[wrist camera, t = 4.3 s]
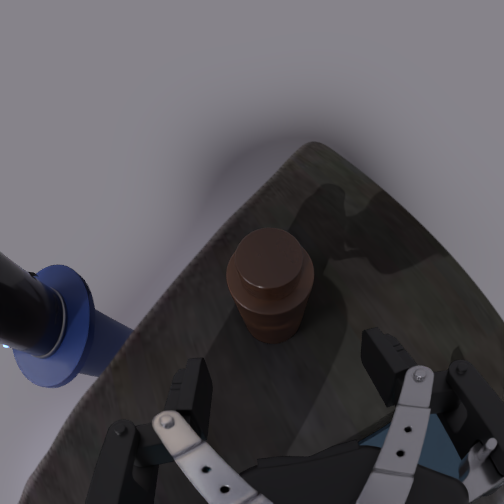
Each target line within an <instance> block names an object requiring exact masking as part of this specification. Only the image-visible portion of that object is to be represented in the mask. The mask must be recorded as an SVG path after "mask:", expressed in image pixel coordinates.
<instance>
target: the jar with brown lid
mask: <svg viewBox="0 0 504 504" xmlns="http://www.w3.org/2000/svg"><path fill="white" fill-rule="evenodd" d="M226 278H227V285H228V288H229V291H230V293H231V295H232V297H233V299H234V301H235V303H236V306H237V308H238V310H239V312H240V314H241V316H242V318H243V320H244V322H245V324H246V327H247V329H248V331H249V332H250V333H251V334H252V336H253V337H255V338H256V339H258V340H259V341H261V342H264V343H269V344H277V343H281V342H284V341H286V340H288V339H289V338H291V337H292V336H293V335H294V334H295V333H296V332H297V330H298V328H299V326H300V323H301V320H302V317H303V314H304V311H305V308H306V305H307V302H308V299H309V296H310V293H311V289H312V286H313V282H314V267H313V263H312V260H311V258H310V256H309V255H308V253H307V252H306V250H305V249H304V248H303V247H302V246H301V245H300V244H299V242H298V241H297V239H296V238H295V237H294V236H292V235H291V234H290V233H288V232H286V231H284V230H281V229H278V228H262V229H258V230H255V231H253V232H251V233H250V234H248V235H247V236H246V237H245V238H244V239H243V240H242V241H241V242H240V244H239V245H238V247H237V250H236V251H235V252H234V254H233V255H232V257H231V259H230V261H229V263H228V267H227V273H226Z"/></svg>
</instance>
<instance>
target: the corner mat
mask: <svg viewBox="0 0 504 504" xmlns="http://www.w3.org/2000/svg"><path fill="white" fill-rule="evenodd" d="M390 425H391V422H390V423H389V424H387V425H386V426H384V427H383V428H381V429H380V430H378V431H376V432H375V433H373V434H371V435H370V436H368V437H366V438H365V439H363V440H361V441H359V442H358V445H370V446H376V447H380V448H382V446H383V443H384V441H385V438H386V436H387V433H388V430H389V427H390ZM460 462H461V459H460V457H459V455H458V453H457V451H456V449H455V447H454V445H453V443H452V441H451V440H450V438H449V436H448V434H447V432H446V431H445V429H444V427H443V425H442V423H441V422H440V420H439V418H438V416H437V415H436V414H430V416H429V421H428V426H427V430H426V434H425V439H424V442H423V446H422V450H421V454H420V457H419V460H418V464H420V465H422V466H424V467H427V468H430V469H432V470H435V471H437V472H440V473H443V474H446V475H449V476H451V477H454V478H457V479H458V480H459V473H458V467H459V464H460Z"/></svg>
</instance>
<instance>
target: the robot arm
mask: <svg viewBox="0 0 504 504" xmlns="http://www.w3.org/2000/svg"><path fill="white" fill-rule="evenodd" d="M34 276H37V277H39V276H38V275H36V274H35V273H33V272H27V271H25V270H24V269H22V268H21V267H20V266H18V265H17V264H16V263H14V262H13V261H11V260H10V259H9V258H8V257H6V256H5V255H4V254H2V253H1V252H0V344H3V346H4V347H10V348H13V349H16V350H19V351H22V352H24V353H27V354H30V355H32V356H34V357H37V358H41V359H44V358H48V357H50V356H52V355H53V354H54V353H55V352H56V351H57V350H58V348H59V347H60V345H61V343H62V341H63V339H64V336H65V333H66V328H67V319H68V315H67V307H66V303H65V301H64V299H63V297H62V295H61V294H60V293H59V292H58V291H56V290H55V289H53V288H51V287H49V286H47V285H46V284H44V283H43V282H41V281H40V280H38V279H37V278H35V277H34ZM361 360H362V363H363V366H364V367H365V369H366V371H367V373H368V374H369V376H370V378H371V380H372V381H373V383H374V385H375V387H376V388H377V390H378V392H379V394H380V396H381V397H382V399H383V401H384V403H385V405H386V407H390V406H393V405H395V407H396V409H395V413H394V416H393V419H392V422H391V425H390V427H389V430H388V433H387V436H386V438H385V441H384V443H383V446H382V448H380V447H376V446H370V445H358V442H357V440H353V441H350V442H346V443H343V444H339V445H335V446H332V447H330V448H328V449H325V450H323V451H321V452H319V453H316V454H314V455H312V456H308V457H298V456H278V457H271V458H262V459H257V462H258V465H257V466H254V467H251V468H249V469H247V470H245V471H243V472H241V473H240V474H237V473H236V472H235V471H234V470H233V469H232V468H231V467H230V466H229V465H228V464H227V463H226V462H225V461H224V460H223V459H222V458H221V457H220V456H219V455H218V454H217V453H216V452H215V450H214V449H213V448H212V447H211V446H210V445H209V444H208V443H207V442H206V441H205V440H207V435H208V426H209V417H210V408H211V400H212V391H213V387H212V381H211V377H210V374H209V371H208V368H207V365H206V362H205V360H204V358H192V359H188V361H187V365H186V369H179V371H178V372H177V373H176V374H175V375H174V377H173V381H172V385H171V387H170V391H169V394H168V398H167V401H166V404H165V408H164V411H163V412H161V413H159V414H158V415H156V416H155V418H154V419H153V421H152V422H151V423H148V424H143V425H138V426H135V425H134V424H133V422H131V421H129V420H119V421H116V422H114V423H113V424H112V425H111V426H110V427H109V429H108V432H107V435H106V438H105V440H104V443H103V446H102V449H101V452H100V455H99V458H98V461H97V464H96V468H95V471H94V474H93V477H92V480H91V484H90V487H89V491H88V494H87V498H86V501H85V504H154V496H155V489H156V482H157V475H158V468H159V464H163V463H168V462H173V461H175V462H176V463H177V464H178V466H179V467H180V468H181V470H182V471H183V472H184V474H185V475H186V476H187V478H188V479H189V480H190V481H191V483H192V484H193V485H194V486H195V488H196V489H197V490H198V491H199V492H200V494H201V495H202V496H203V497H204V498H205V499H206V501H207V502H208V503H209V504H471V503H472V502H474V501H475V500H477V499H478V498H480V497H481V496H489V495H491V494H493V493H494V492H495V491H496V490H497V489H499V488H500V487H501V486H502V485H503V484H504V403H503V402H502V400H501V399H500V398H499V397H498V395H497V394H496V393H495V392H494V390H493V389H492V388H491V387H490V385H489V384H488V383H487V382H486V380H485V379H484V378H483V377H482V376H481V374H480V373H479V372H478V371H477V370H476V369H475V367H474V366H473V365H472V364H471V363H470V362H468V361H465V360H456V361H454V362H452V363H451V364H450V366H449V369H448V370H446V371H439V372H433V371H432V370H431V369H430V368H428V367H426V366H421V365H417V363H416V362H415V361H414V360H413V358H412V357H411V356H410V355H409V354H408V352H407V351H406V350H404V347H403V346H402V345H400V343H399V341H398V340H397V339H396V338H395V337H393V336H391V335H389V334H385V335H384V334H383V333H382V332H381V331H380V329H379V328H378V327H375V328H371V329H367V330H364V331H363V332H362V346H361ZM430 414H436V415H437V416H438V418H439V420H440V422H441V423H442V425H443V427H444V429H445V431H446V432H447V434H448V436H449V438H450V440H451V441H452V443H453V445H454V447H455V449H456V451H457V453H458V455H459V457H460V459H461V462H460V464H459V467H458V473H459V480H458V479H457V478H454V477H451V476H449V475H446V474H443V473H440V472H437V471H435V470H432V469H430V468H427V467H424V466H422V465H420V464H418V460H419V457H420V454H421V450H422V446H423V442H424V439H425V434H426V430H427V426H428V421H429V416H430Z"/></svg>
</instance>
